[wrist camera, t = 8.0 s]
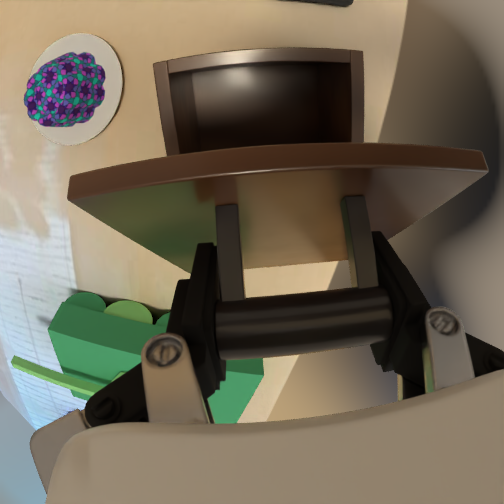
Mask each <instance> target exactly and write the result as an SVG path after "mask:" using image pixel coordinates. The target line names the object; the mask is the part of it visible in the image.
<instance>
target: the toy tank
mask: <svg viewBox="0 0 504 504" xmlns="http://www.w3.org/2000/svg"><path fill="white" fill-rule="evenodd" d="M169 315H170V312H169V313H167V314H165V315H163V316H162V317H160V318H159V319H158V320H157V322H156V325H152V320H153V319H152V316H151V313H150V312H149V311H148V309H147V308H146V307H144V306H143V305H142V304H140V303H137V302H134V301H127V300H124V301H118V302H115V303H113V304H111V305H110V306H108V307H107V308H106V305H105V303H104V301H103V299H102V298H100V297H99V296H98V295H96V294H93V293H89V292H81V293H77V294H74V295H72V296H71V297H69V298H68V299H67V300H66V301H65V302H62V303H61V305H60V307H59V309H58V311H57V312H56V314H55V316H54V318H53V320H52V322H51V324H50V326H49V327H48V332H49V335H50V338H51V341H52V344H53V347H54V350H55V353H56V355H57V358H58V361H59V363H60V366H61V369H62V371H63V374H62V373H59V372H56V371H53V370H50V369H48V368H45V367H42V366H40V365H37V364H34V363H32V362H29V361H27V360H25V359H22V358H20V357H17V356H15V355H14V357H13V359H12V361H11V363H12V365H13V367H14V368H17V369H19V370H21V371H23V372H26V373H28V374H31V375H33V376H36V377H38V378H41V379H43V380H46V381H49V382H51V383H54V384H57V385H60V386H62V387H65V388H68V389H70V390H71V392H72V395H73V396H74V397H78V398H81V399H84V400H87V401H88V400H89V398H90V397H91V396H92V395H94V394H95V393H96V392H98V391H99V390H101V389H102V388H104V387H105V386H107V385H108V384H110V383H111V382H113V381H114V380H115V379H117V378H118V377H120V376H121V375H123V374H124V373H126V372H127V371H129V370H130V369H132V368H133V367H135V366H136V365H137V364H139V363H140V362H141V350H142V348H143V346H144V344H145V343H146V342H147V341H148V340H149V339H150V338H152V337H153V336H155V335H158V334H161V333H166V328H167V324H168V320H169ZM263 376H264V369H263V358H255V359H241V360H226V381H220V390H215V393H214V394H213V395H212V396H210V397H209V398H208V401H209V404H210V407H211V411H212V414H213V417H214V420H215V423H216V424H230V423H237V421H238V419H239V418H240V416H241V414H242V413H243V411H244V409H245V408H246V406H247V404H248V403H249V401H250V399H251V397H252V396H253V394H254V392H255V390H256V389H257V387H258V385H259V383H260V382H261V380H262V378H263Z"/></svg>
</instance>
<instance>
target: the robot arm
mask: <svg viewBox="0 0 504 504" xmlns="http://www.w3.org/2000/svg"><path fill="white" fill-rule="evenodd" d="M371 233H372V239H373V245H374V252H375V259H376V266H377V274H378V282H379V284H380V285H383V286H384V287H385V288H386V289H387V291H388V293H389V295H390V298H391V301H392V306H393V313H394V324H393V330H392V334H391V336H390V338H389V339H388V340H387V341H385V342H380V343H375V344H370V347H371V349H372V352H373V355H374V358H375V361H376V363H377V364H378V365H381V367H382V369H383V372H387V371H392V370H394V372H395V373H397V374H398V401H397V402H393V403H389V404H385V405H380V406H376V407H371V408H366V409H361V410H355V411H350V412H345V413H338V414H332V415H325V416H318V417H311V418H302V419H293V420H283V421H271V422H255V423H230V424H216V423H215V420H214V417H213V414H212V411H211V407H210V404H209V401H208V398H209V397H210V396H212V395H213V394H214V393H215V390H220V381H226V360H220V358H219V356H218V353H217V348H216V342H215V333H214V308H215V303H216V301H217V300H220V288H219V273H218V256H217V246H214V244H213V242H207V243H198V244H197V248H196V253H195V257H194V262H193V266H192V271H191V276H190V279H182V280H179V281H178V283H177V286H176V290H175V294H174V298H173V303H172V307H171V311H170V315H169V320H168V324H167V328H166V333H161V334H158V335H155V336H153V337H152V338H150V339H149V340H148V341H147V342H146V343H145V344H144V346H143V348H142V350H141V362H140V363H139V364H137V365H136V366H135V367H133V368H132V369H130V370H129V371H127V372H126V373H124V374H123V375H121V376H120V377H118V378H117V379H115V380H114V381H113V382H111V383H110V384H108V385H107V386H105V387H104V388H102V389H101V390H99V391H98V392H96V393H95V394H94V395H92V396H91V397H90V398H89V400H88V401H87V403H86V406H85V409H83V410H81V411H80V410H79V409H76V410H74V411H72V412H71V413H69V414H67V415H65V416H63V417H61V418H59V419H57V420H55V421H53V422H52V423H50V424H48V425H46V426H44V427H42V428H40V429H38V430H37V431H36V432H34V434H33V435H32V437H31V440H30V450H31V453H32V456H33V459H34V462H35V465H36V468H37V471H38V474H39V476H40V479H41V481H42V484H43V486H44V489H45V491H46V494H47V498H46V504H504V352H503V351H502V350H500V349H498V348H496V347H494V346H492V345H490V344H488V343H485V342H484V341H482V340H480V339H477V338H475V337H473V336H471V335H469V334H467V333H465V331H464V328H463V324H462V321H461V319H460V317H459V316H458V315H457V314H456V313H455V312H454V311H452V310H450V309H448V308H445V307H433V308H431V307H430V305H429V304H428V302H427V300H426V298H425V296H424V295H423V293H422V292H421V290H420V288H419V287H418V285H417V283H416V282H415V280H414V279H413V277H412V275H411V274H410V273H409V271H408V269H407V268H406V266H405V265H404V264H403V263H402V262H401V260H400V259H399V257H398V256H397V254H396V253H395V251H394V250H393V248H392V247H391V245H390V244H389V242H388V241H387V239H386V238H385V236H384V235H383V234H382V232H381V231H371Z"/></svg>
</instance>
